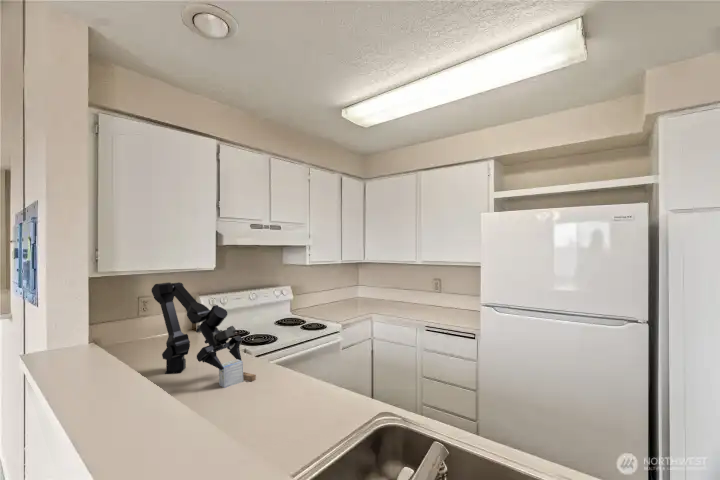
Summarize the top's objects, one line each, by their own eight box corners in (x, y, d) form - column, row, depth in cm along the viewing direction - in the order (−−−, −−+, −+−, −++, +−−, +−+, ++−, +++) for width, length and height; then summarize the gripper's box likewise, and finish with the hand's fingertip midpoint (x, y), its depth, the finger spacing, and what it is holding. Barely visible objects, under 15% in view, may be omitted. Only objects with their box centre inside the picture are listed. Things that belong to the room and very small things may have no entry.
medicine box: (238, 380, 134) (237, 358, 134) (243, 382, 131) (243, 360, 131) (219, 386, 128) (218, 364, 128) (224, 390, 125) (224, 366, 125)
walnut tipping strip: (229, 377, 137) (229, 371, 137) (233, 375, 139) (233, 369, 139) (252, 382, 132) (252, 376, 132) (255, 381, 133) (255, 374, 133)
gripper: (201, 326, 124) (223, 360, 119) (239, 316, 141) (259, 345, 136) (187, 344, 127) (207, 378, 122) (225, 332, 144) (245, 362, 139)
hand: (231, 365), depth 130 cm, fingers open, 9 cm apart
